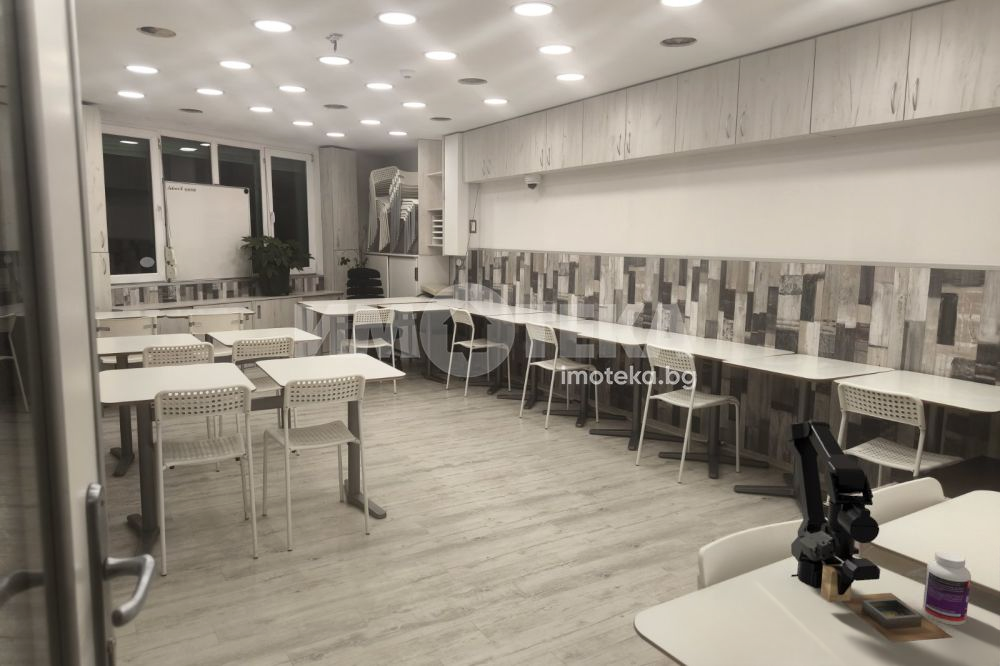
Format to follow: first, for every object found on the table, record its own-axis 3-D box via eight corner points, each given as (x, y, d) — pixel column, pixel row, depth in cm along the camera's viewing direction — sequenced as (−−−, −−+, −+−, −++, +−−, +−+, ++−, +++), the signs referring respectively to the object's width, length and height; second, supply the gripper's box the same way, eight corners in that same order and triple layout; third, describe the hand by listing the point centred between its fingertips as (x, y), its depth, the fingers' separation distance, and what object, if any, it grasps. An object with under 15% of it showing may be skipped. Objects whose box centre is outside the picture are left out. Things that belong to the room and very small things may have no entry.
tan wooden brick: (820, 594, 152) (823, 565, 151) (841, 593, 153) (843, 563, 152) (829, 601, 149) (831, 571, 148) (849, 600, 150) (852, 570, 149)
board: (835, 599, 157) (835, 596, 157) (890, 595, 160) (890, 592, 160) (891, 645, 140) (892, 642, 140) (952, 640, 142) (953, 637, 142)
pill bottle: (972, 630, 146) (980, 566, 144) (930, 625, 148) (937, 562, 146) (955, 610, 154) (962, 549, 152) (916, 606, 155) (922, 545, 153)
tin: (861, 610, 151) (862, 600, 151) (895, 608, 153) (896, 598, 152) (885, 629, 144) (886, 619, 144) (920, 626, 146) (922, 616, 145)
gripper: (783, 507, 157) (778, 572, 159) (835, 543, 138) (829, 616, 141) (827, 505, 158) (822, 569, 161) (885, 540, 140) (878, 612, 142)
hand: (835, 590), depth 151 cm, fingers closed on tan wooden brick, 3 cm apart
